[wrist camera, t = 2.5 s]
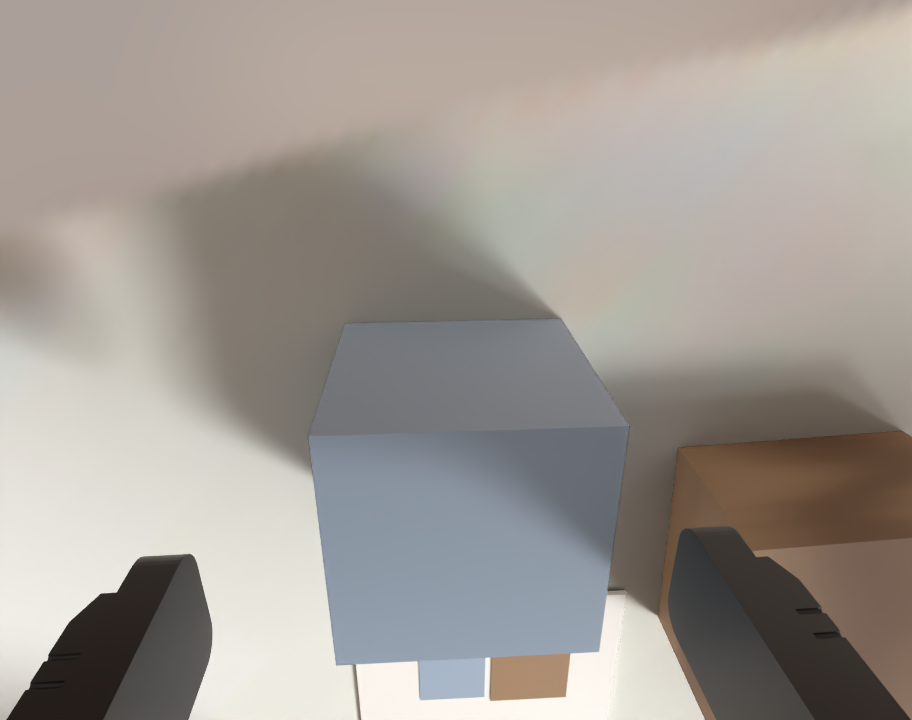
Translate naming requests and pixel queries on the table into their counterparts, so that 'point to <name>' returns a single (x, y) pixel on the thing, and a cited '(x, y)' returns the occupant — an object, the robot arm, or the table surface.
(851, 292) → the table surface
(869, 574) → the walnut brick
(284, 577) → the table surface
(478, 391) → the slate brick
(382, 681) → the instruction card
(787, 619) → the robot arm
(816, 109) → the table surface
